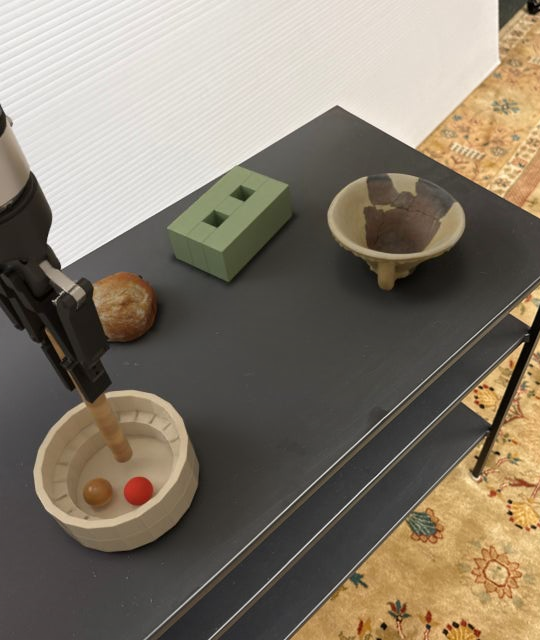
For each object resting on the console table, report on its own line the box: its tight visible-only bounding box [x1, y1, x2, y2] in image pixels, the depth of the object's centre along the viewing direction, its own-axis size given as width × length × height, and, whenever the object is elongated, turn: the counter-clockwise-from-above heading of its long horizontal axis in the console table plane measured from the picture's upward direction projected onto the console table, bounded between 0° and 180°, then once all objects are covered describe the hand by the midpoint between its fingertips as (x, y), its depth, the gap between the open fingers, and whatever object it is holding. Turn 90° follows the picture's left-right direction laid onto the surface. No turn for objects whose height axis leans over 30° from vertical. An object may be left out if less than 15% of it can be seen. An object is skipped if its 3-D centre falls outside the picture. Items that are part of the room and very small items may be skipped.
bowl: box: [326, 172, 466, 291], centre depth 88 cm, size 18×18×10 cm
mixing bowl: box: [33, 389, 200, 553], centre depth 69 cm, size 16×16×7 cm
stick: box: [45, 327, 133, 463], centre depth 63 cm, size 2×2×22 cm
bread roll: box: [91, 271, 158, 343], centre depth 86 cm, size 10×10×8 cm
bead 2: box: [124, 477, 153, 506], centre depth 69 cm, size 3×3×3 cm
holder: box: [166, 164, 293, 283], centre depth 94 cm, size 10×16×6 cm, turn 148°
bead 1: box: [83, 478, 113, 507], centre depth 69 cm, size 3×3×3 cm
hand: (89, 385), depth 61 cm, fingers closed on stick, 2 cm apart
